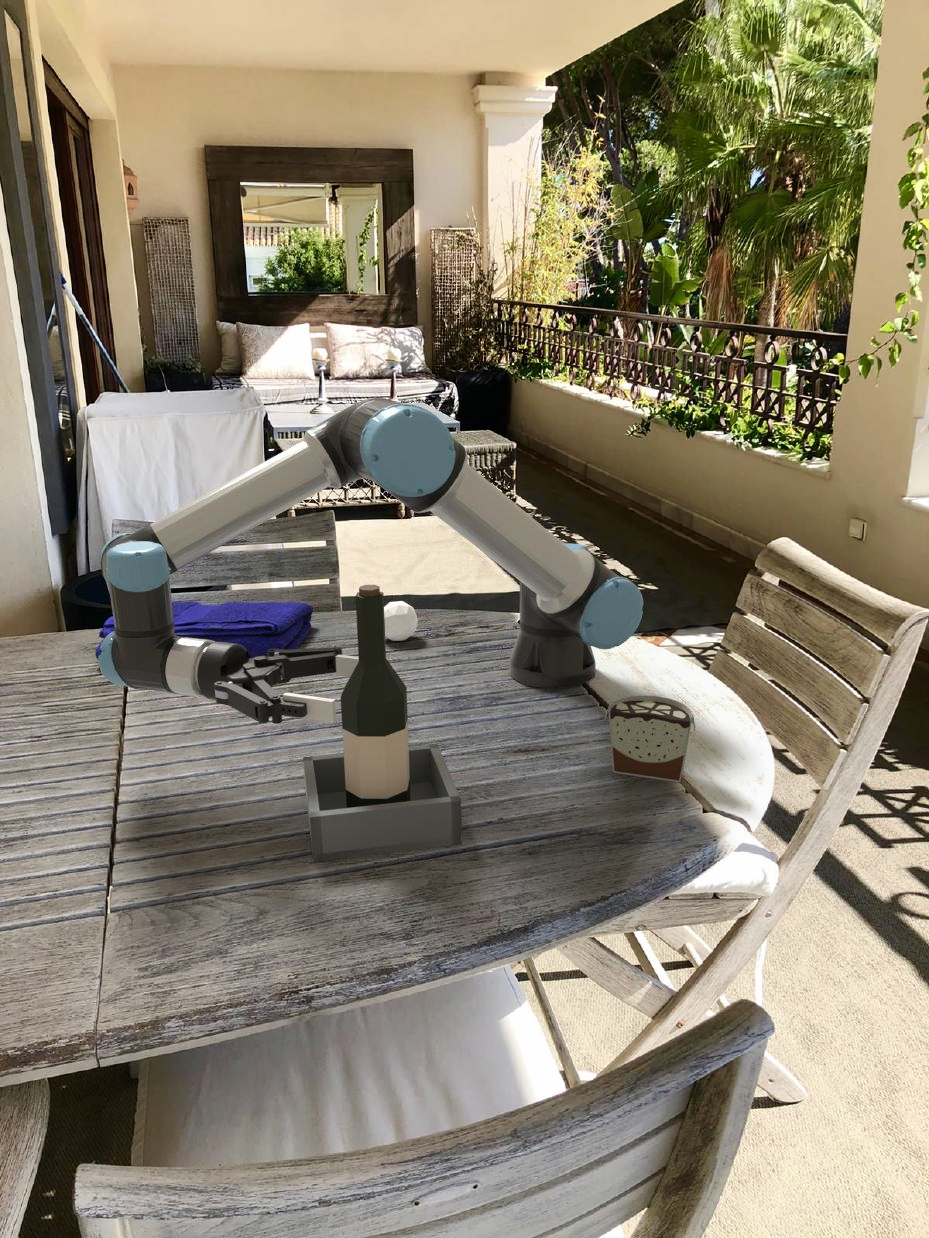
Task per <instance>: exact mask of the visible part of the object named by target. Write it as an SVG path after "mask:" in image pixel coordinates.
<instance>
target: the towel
mask: <svg viewBox="0 0 929 1238" xmlns="http://www.w3.org/2000/svg"><path fill="white" fill-rule="evenodd" d="M172 611H173V619H174V628H175V635H176V636H179V637H187V638H196V639H205V640H212V641H215V642H226V643H234V644H240V645H242V646H243V647H245V649H246V650H247V651H248V653H249V654H250V655H251V656H252V657H253V658H255V657H259V656H266V657H268V651H267V650H269V649H284V650H288V649H299V647H300V646H301V644H302V642H303V641H304V640H305V639H306V637H307V636H308V634H309V632H310V631H311V629H312V624H311V621H312V615H313V613H314V607H313V605H310V604H308V603H306V602H290V601H289V602H287V601H286V602H276V601H275V602H274V601H272V602H271V601H267V602H247V601H246V602H245V601H243V602H242V601H241V602H240V601H239V602H236V601H235V602H225V603H222V604H219V605H218V604H202V603H200V602H198V601H192V600H189V601H172ZM114 626H115V623H114V617H113V616H111V617H108V618H107V620H106V621H105V622H104V624H103V627H102V629H100V631H99V632H98V636H99V638H101V639H102V640H101V642H100V643H99V644H98V645H97V647H96V648H95V658H96V660H98V661H99V659H98V657H99V655H101V648H100V647H101V644H102V642H103V640H104V639H105V637H106V636H107V635H108V634H109V633H111V632H113V631H115V628H114Z"/></svg>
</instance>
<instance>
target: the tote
mask: <svg viewBox="0 0 929 1238" xmlns="http://www.w3.org/2000/svg"><path fill="white" fill-rule="evenodd" d="M302 760H303V774H304V775H303V777H304V788H305V789H304V790H305V791H304V792H305V803H306V811H307V812H306V813H307V819H308V820H307V821H308V829H309V837H310V845H311V846H310V848H311V855H312V856H311V857H312V862H313V863H316V862H323V861H325V862H326V861H332V860H341V859H349V858H358V857H359V858H360V857H366V856H375V855H382V854H383V855H385V854H391V853H400V852H407V851H409V852H410V851H416V850H424V849H433V848H434V849H435V848H441V847H451V846H457V845H462V844H463V841H462V839H463V838H462V837H463V835H462V799H461V797H460V794H459V792H458V790H457V787H456V784H455V783H454V780H453V777H452V776H451V773H450V770H449V768H448V766H447V763H446V761H445V759H444V757H443V754H442V751H441V749H440V747H439V744H438V743H435V744H434V743H433V744H423V745H422V744H421V745H412V746H409V773H410V801H407V802H398V803H389V804H380V805H371V806H361V807H352V808H347V802H346V784H345V767H344V752H341V753H340V752H339V753H332V754H331V753H330V754H322V755H311V756H303V758H302Z"/></svg>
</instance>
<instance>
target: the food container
mask: <svg viewBox="0 0 929 1238" xmlns="http://www.w3.org/2000/svg"><path fill="white" fill-rule="evenodd" d="M607 718H608V723H609V738H610V750H611V751H610V753H611V765H612V774H619V775H626V776H634V777H638V778H639V777H641V778H646V779H655V780H661V781H667V782H673V783H681V782H682V776H683V773H684V772H683V771H684V765H685V762H686V761H685V760H686V755H687V749H688V745H689V739H690V733H691V729H692V728H691V727H692V726H693V731H694V732H695V731H696V722H695V717H694V714H693V712H692V710H691V708H690V707H688V705H686V704H684V703H682V702H681V701H678V700H675V699H672V698H670V697H665V696H660V695H651V694H649V695H646V694H641V695H640V694H638V695H629V696H624V697H621V698H618V699H616V700H613V701H612V702H611V703H609V705H608V708H607V709H606V712H605V715H604V718H603V719H604V720H606V719H607Z"/></svg>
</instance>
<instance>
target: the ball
mask: <svg viewBox="0 0 929 1238" xmlns="http://www.w3.org/2000/svg"><path fill="white" fill-rule="evenodd" d="M384 618H385V638H387V639H389V640H391V641H392V642H399V641H401V642H402V641H406V640H407V639H409V638H410V637H411V636H412V635H413V634H414V633H415V632H416V630H417V628H418V623H419V618H418V616H417V614H416V611H415V608H414V607H413V606H411V605H410V604H408V603H407V602H405V601H403V600H399V601H390V602H388V603H387V604H386V605H384Z"/></svg>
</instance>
